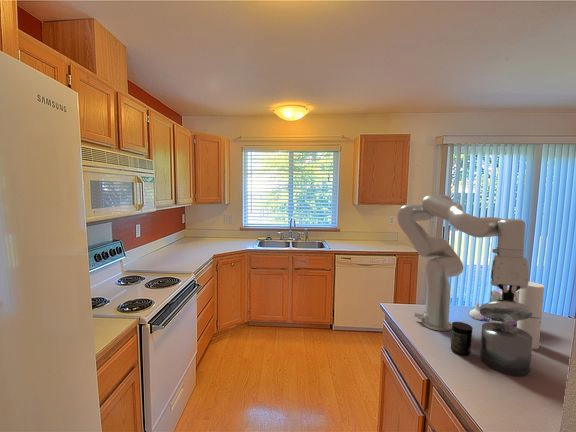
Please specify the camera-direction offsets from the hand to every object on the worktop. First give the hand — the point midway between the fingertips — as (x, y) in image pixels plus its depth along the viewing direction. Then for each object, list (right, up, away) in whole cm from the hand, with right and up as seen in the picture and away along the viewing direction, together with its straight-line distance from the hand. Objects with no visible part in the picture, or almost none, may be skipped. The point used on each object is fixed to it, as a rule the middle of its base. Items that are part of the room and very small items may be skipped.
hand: (507, 302), depth 100 cm
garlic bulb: (+13, -19, +35) cm, 41 cm away
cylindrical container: (+17, -21, +11) cm, 29 cm away
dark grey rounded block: (-3, -21, -2) cm, 22 cm away
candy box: (+21, -19, +27) cm, 39 cm away
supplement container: (-14, -21, +5) cm, 26 cm away
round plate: (-2, -4, -2) cm, 5 cm away
